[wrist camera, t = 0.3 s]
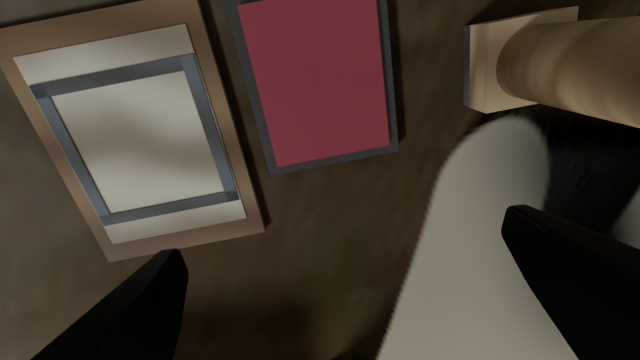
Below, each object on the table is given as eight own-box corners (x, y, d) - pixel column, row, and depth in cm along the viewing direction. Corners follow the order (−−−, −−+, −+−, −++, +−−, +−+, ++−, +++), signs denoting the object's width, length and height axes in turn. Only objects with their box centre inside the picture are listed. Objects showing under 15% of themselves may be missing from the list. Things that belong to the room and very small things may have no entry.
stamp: (534, 91, 22) (797, 143, 10) (463, 105, 22) (648, 173, 10) (542, 10, 20) (878, -34, 8) (463, 25, 20) (693, 2, 8)
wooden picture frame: (265, 227, 25) (264, 233, 24) (113, 257, 25) (107, 263, 24) (197, -8, 18) (192, -10, 17) (-10, 32, 18) (-23, 32, 17)
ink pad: (394, 146, 23) (400, 152, 21) (271, 170, 23) (269, 178, 21) (379, -34, 18) (385, -40, 17) (225, -4, 18) (220, -7, 17)
